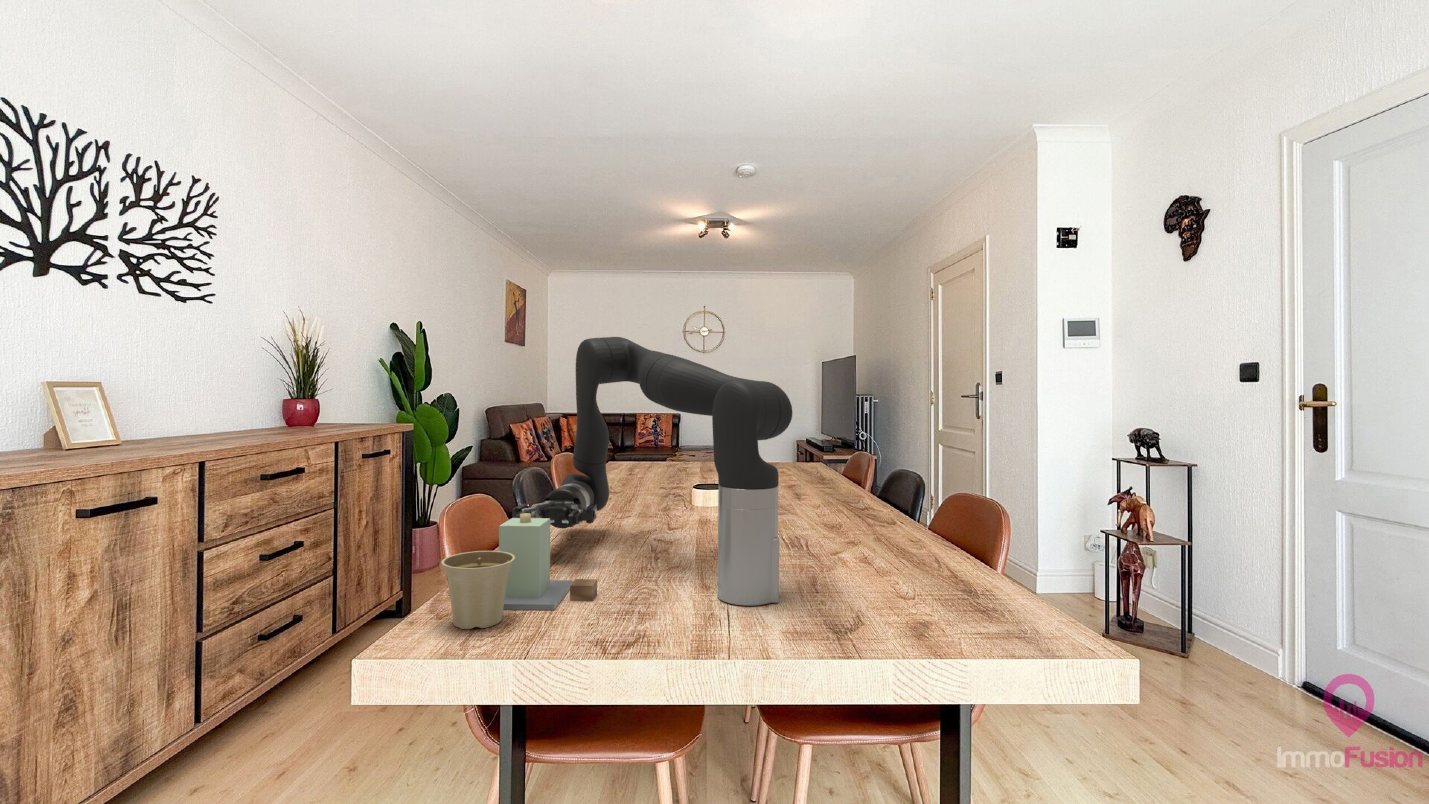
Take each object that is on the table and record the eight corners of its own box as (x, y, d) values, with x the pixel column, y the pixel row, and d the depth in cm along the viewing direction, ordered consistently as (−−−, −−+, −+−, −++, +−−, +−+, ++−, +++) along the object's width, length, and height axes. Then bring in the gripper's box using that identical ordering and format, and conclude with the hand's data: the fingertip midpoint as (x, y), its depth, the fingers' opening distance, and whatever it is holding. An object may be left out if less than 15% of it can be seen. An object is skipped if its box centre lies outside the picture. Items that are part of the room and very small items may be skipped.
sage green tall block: (549, 585, 102) (550, 510, 102) (539, 597, 96) (539, 518, 96) (511, 585, 103) (512, 510, 102) (498, 597, 97) (499, 517, 96)
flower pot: (525, 611, 93) (525, 551, 92) (497, 636, 83) (497, 569, 83) (462, 609, 94) (462, 549, 93) (427, 633, 84) (427, 566, 84)
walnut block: (597, 595, 101) (597, 579, 101) (592, 602, 98) (592, 585, 98) (575, 595, 101) (575, 579, 101) (569, 602, 98) (570, 585, 98)
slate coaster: (572, 585, 105) (572, 580, 105) (554, 610, 93) (554, 604, 93) (498, 584, 105) (498, 579, 105) (470, 609, 93) (470, 603, 93)
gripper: (530, 485, 126) (503, 498, 110) (604, 485, 126) (587, 499, 110) (530, 523, 126) (503, 542, 110) (604, 524, 126) (587, 543, 110)
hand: (545, 521), depth 110 cm, fingers open, 8 cm apart
